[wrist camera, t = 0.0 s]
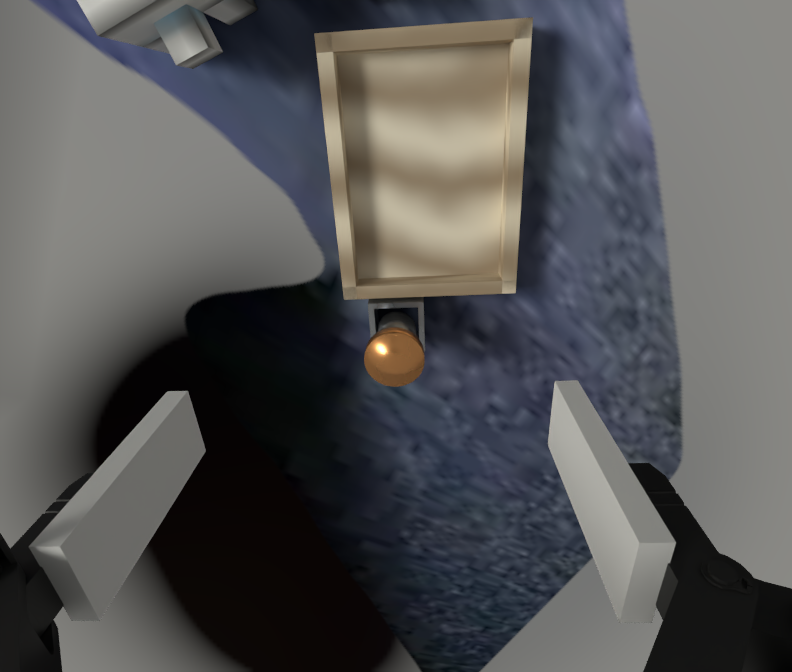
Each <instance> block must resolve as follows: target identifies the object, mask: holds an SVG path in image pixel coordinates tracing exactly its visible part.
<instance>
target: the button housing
mask: <svg viewBox="0 0 792 672" xmlns="http://www.w3.org/2000/svg"><path fill="white" fill-rule="evenodd" d="M411 307H418V318H419V331H416V336H417V337H418V338H419V340H420V341H421V343H422V345H423V348H424V351H425V333H424V301H423V297H403V298H376V299H369V302H368V311H369V322H370V333H371V337H372V336H373V335H374V334H376V333H377V332H378V327H379V317H378V309H384V308H411Z"/></svg>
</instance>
